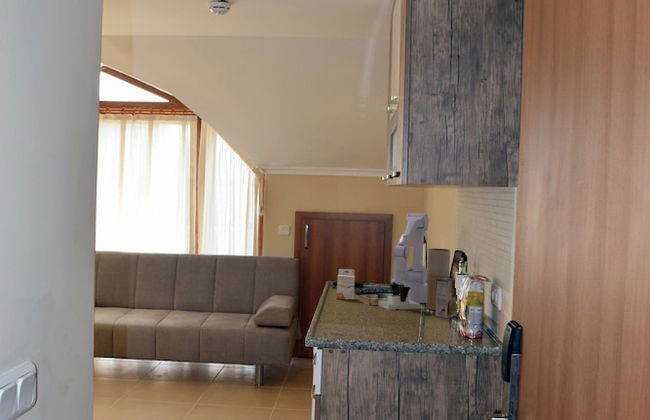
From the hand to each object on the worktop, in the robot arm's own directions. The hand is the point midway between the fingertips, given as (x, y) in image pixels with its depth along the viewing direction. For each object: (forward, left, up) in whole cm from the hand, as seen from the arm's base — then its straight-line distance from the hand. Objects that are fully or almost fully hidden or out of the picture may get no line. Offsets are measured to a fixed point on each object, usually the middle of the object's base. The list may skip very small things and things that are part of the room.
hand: (399, 300), depth 294 cm
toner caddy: (+1, 0, -3) cm, 3 cm away
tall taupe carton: (-16, +7, -3) cm, 18 cm away
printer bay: (+7, -14, -3) cm, 16 cm away
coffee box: (-11, +25, -3) cm, 28 cm away
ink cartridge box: (+16, -29, -3) cm, 33 cm away
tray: (0, 0, -3) cm, 3 cm away
